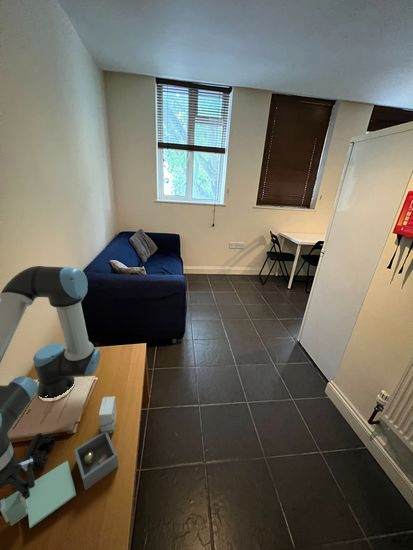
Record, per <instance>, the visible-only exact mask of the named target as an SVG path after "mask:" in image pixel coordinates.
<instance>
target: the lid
mask: <svg viewBox="0 0 413 550" xmlns="http://www.w3.org/2000/svg"><path fill="white" fill-rule="evenodd" d="M34 482H35V486H34V487H33V488H30V489H29V491H30V497H29V498H27V500H28V509H26V510H25V508H24V506H23V504H22V501H21V500H20V493H19V491H18V490H17V491H16V492H14V493H13V494H11V495H9V496H8V497H6V498H4V500H5V513H6V515H7V517H8V519H9V524H10V526H11V527H12V526H14V525H15V524H17V523H18V522H20V521H21V520H22V519H24V518H25V517H26V516H27V515H28V524H29V529H31V528H33V527H34V526H36V525H37V524H38V523H40V522H41V521H43V519H45V518H47V517H48V516H50V515H51V514H52V513H54V512H55V511H56V510H58V509H60V508H61V507H62V506H64V505H65V504H66V503H67V502H69V501H70V500H71V499H73V498H74V497H76V496H77V493H76V488H75V483H74V481H73V477H72V473H71V469H70V463H69V461H68V460H66V461H64V462H63V463H60V464H59V465H58V466H56V467H55V468H53V469H51V470H50V471H48V472H46V473H45V474H43V475H41V476H40V477H39V478H37V479H34Z"/></svg>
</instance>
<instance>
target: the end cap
mask: <svg viewBox="0 0 413 550" xmlns="http://www.w3.org/2000/svg"><path fill="white" fill-rule="evenodd" d="M54 436H55V435H54V434H53V433H52V434H45V435H44V434H42V432H39V433H37V434H35V435H33V437H32V439H31V442H30V444H29V446H28V447H27V450H26V452H24V453H25V454H24V456H23V458H22V460H21V462H24V461H27V459H28V458H29V457H30V456H32V457H33V468H32V471H35V470H39V469H40V470H41V469H44V468H45V467H46V466H47V463H48V460H49V458H48V457H47V458H44V457H45V454H46V452H49V451H50V452H51V451H53V448H54V445H55V442H56V440H55V438H54ZM19 472H21V473H22V474H26V471H25V470H23V468H21V470H20V471H19Z"/></svg>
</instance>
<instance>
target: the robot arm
mask: <svg viewBox="0 0 413 550" xmlns="http://www.w3.org/2000/svg"><path fill="white" fill-rule="evenodd" d="M88 286H89V283H88V278H87V275H86V274H85V272H84V271H83V270H82V269H80V268H78V267H77V268H76V267H70V266H65V267H64V266H45V265H44V266H42V265H35V266H29V267H28V268H26V269H23V270H22V271H20V272H19V273H17V274H16V275H14V277H12V278H11V279H10V280H9V281H8V282H7V283H6V284H5V286H4V287H3V289H2V291H1V292H0V364H1V362H2V361H3V359H4V357H5V355H6V352H7V351H8V348H9V346H10V345H11V342H12V340H13V338H14V336H15V333H16V331H17V329H18V328H19V326H20V323H21V320H22V319H23V317H24V315H25V313H26V310H27V308H28V307H29V306H32V305H33V303H34V302H35V299H38V298H47V299H48V302H49V305H50V306H51V307H53V308H56V310H55V311H56V313H57V317H58V320H59V323H60V327H61V331H62V335H63V338H64V342H65V346H66V348H65V347H64V345H63V344H62V343H58V342H57V343H56V342H55V343H51V344H48V345H45V346H43V347H42V348H40V349H39V350H37V352H35V353H34V356H33V358H32V359H33V366H34V369H35V372H36V375H37V378H38V383H37V381H36V380H34V378H32V377H30V376H25V375H24V376H23V375H22V376H17V377H15V378H13V379H12V380H11V381H10V382H9V383H8V384H5V385H3V384H2V385H0V490H1V489H3V488H4V487H5V486H8V485H9V486H10V487H14V488H15V490H17V491H19V493H20V500H21V501H22V504H23V506H24V508H25V510H26V509H28V500H27V498H29V497H30V491H29V489H30V488H33V487H34V486H35V482H34V481H35V476H34V470H32V468H33V457H32V456H30V457H29V458H28V459H27V461H24V462H22V460H20V459H18V458H17V455H16V453H15V450H14V447H13V445H12V442H11V440H10V437H9V431H10V430H11V428H12V427H13V426H14V424H15V422H16V421H17V420H18V419H19V417H20V416H21V414H22V413H23V412H24V411H25V409H26V408H27V406H29V404H30V403H31V402H32V400H33V398H34V396H35V395H37V397H38V396H40V397H42V398H54V397H57V396H59V395H62V394H63V393H65V392H66V391H67V390H69V389H70V388H71V387H72V386H73V384H74V381H75V377H85V376H93V375H94V374H95V373H96V371H97V369H98V366H99V364H100V360H101V349H98V348H94V346H95V345H94V344H93V343H92V342H91V341H89V335H88V331H87V327H86V321H85V317H84V312H83V307H82V301H83V300H84V298H85V297H86V296H87V293H88ZM75 382H76V381H75ZM47 395H48V396H47ZM45 396H47V397H45ZM21 468H23V470H25V471H26V473H25V474H26V477H27V481H26V480H25V479H24V478H22V477H21V476H20V475H19V472H20V470H21ZM0 517H3V519H4V520H5V522H6V523H10V521H9V519H8V517H7V515H6V513H5V498H3V499H0Z"/></svg>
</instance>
